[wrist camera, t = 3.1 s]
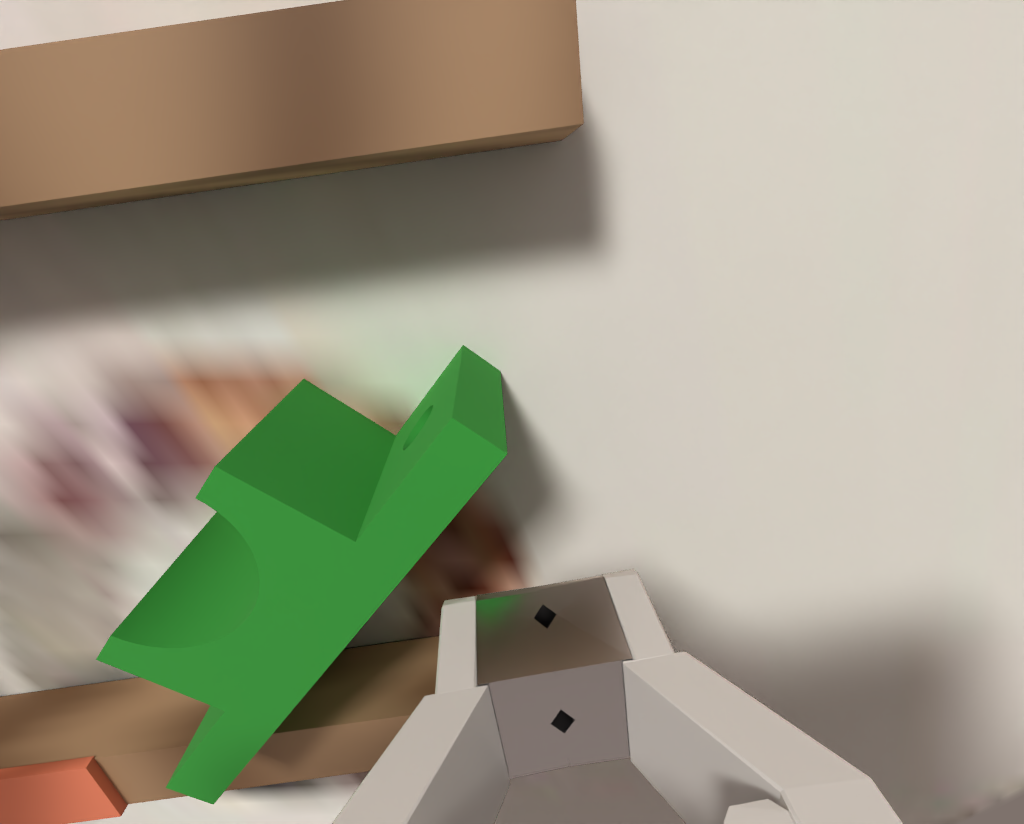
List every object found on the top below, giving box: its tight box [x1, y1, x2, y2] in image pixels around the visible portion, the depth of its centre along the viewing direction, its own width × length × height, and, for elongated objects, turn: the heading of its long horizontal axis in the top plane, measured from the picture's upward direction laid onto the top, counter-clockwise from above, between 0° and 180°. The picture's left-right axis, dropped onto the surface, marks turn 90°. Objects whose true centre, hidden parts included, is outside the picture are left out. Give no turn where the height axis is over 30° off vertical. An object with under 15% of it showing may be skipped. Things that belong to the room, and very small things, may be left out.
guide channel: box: [0, 0, 584, 824], centre depth 11 cm, size 22×17×4 cm
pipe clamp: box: [96, 345, 507, 804], centre depth 11 cm, size 11×4×5 cm, turn 143°
